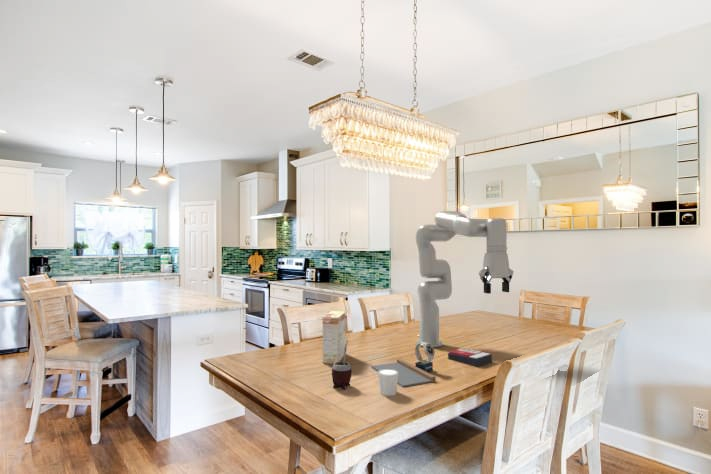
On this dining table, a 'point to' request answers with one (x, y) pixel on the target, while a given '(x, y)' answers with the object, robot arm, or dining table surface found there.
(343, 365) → the mate gourd
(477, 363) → the calculator
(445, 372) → the dining table surface
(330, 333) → the coffeecake box
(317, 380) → the dining table surface
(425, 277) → the robot arm
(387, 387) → the white cup
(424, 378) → the mat
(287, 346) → the dining table surface
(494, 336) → the dining table surface
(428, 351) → the watch
